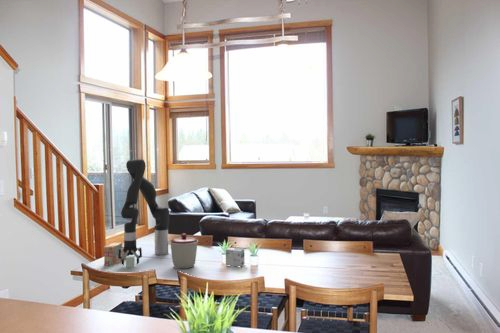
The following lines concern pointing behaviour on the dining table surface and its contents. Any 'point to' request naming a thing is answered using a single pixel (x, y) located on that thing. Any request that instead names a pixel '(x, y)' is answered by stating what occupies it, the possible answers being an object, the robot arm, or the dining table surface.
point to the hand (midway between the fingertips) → (130, 264)
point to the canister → (183, 251)
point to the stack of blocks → (113, 254)
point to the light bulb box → (235, 257)
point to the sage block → (130, 261)
